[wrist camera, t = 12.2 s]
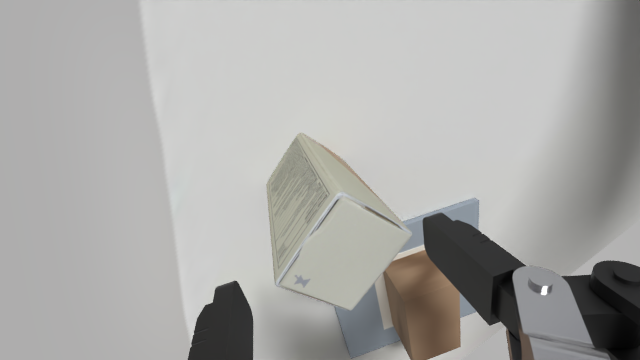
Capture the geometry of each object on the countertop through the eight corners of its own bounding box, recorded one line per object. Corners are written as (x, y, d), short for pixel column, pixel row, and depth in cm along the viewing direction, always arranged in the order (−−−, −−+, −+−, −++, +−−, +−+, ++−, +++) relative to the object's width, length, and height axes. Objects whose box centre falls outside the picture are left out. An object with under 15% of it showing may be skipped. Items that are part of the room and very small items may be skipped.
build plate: (474, 197, 26) (479, 201, 25) (472, 307, 33) (476, 312, 32) (317, 250, 25) (318, 255, 24) (349, 353, 32) (351, 359, 31)
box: (309, 206, 23) (348, 319, 13) (264, 183, 21) (268, 292, 11) (345, 155, 22) (418, 235, 12) (300, 127, 20) (341, 191, 10)
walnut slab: (428, 248, 26) (459, 281, 22) (433, 308, 30) (460, 346, 26) (381, 264, 26) (404, 301, 22) (392, 324, 30) (413, 364, 26)
